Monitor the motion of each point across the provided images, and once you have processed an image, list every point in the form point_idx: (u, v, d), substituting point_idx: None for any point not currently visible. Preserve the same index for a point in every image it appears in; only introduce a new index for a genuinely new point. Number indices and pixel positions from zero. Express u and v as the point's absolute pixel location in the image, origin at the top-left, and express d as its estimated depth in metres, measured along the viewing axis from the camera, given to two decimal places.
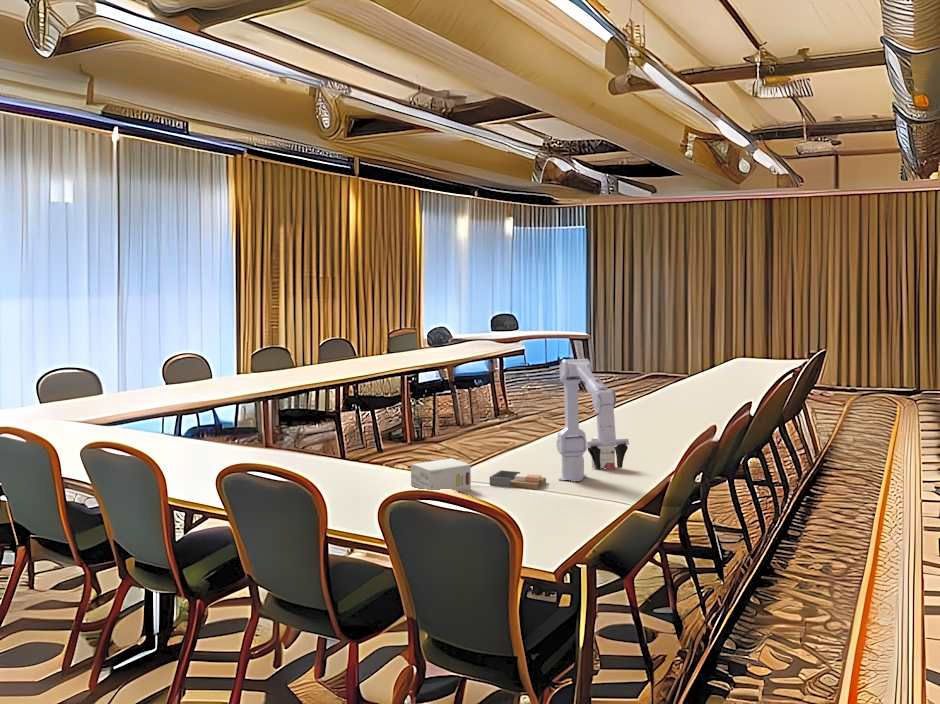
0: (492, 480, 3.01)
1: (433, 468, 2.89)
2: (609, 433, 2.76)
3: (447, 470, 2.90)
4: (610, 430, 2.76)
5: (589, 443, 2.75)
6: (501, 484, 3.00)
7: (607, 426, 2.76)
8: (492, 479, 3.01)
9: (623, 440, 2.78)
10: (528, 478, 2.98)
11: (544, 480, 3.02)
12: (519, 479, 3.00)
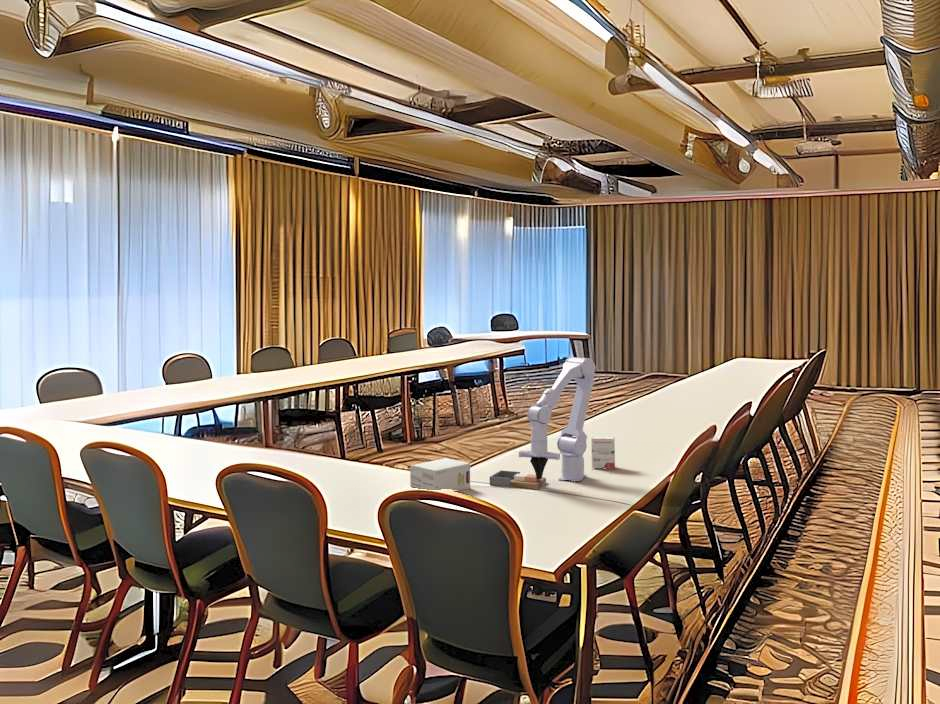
0: (492, 480, 3.01)
1: (436, 468, 2.89)
2: (536, 447, 2.95)
3: (450, 469, 2.90)
4: (536, 445, 2.95)
5: (520, 453, 3.00)
6: (501, 484, 3.00)
7: (534, 441, 2.95)
8: (492, 479, 3.01)
9: (552, 455, 2.94)
10: (526, 478, 2.98)
11: (544, 480, 3.02)
12: (518, 479, 3.00)
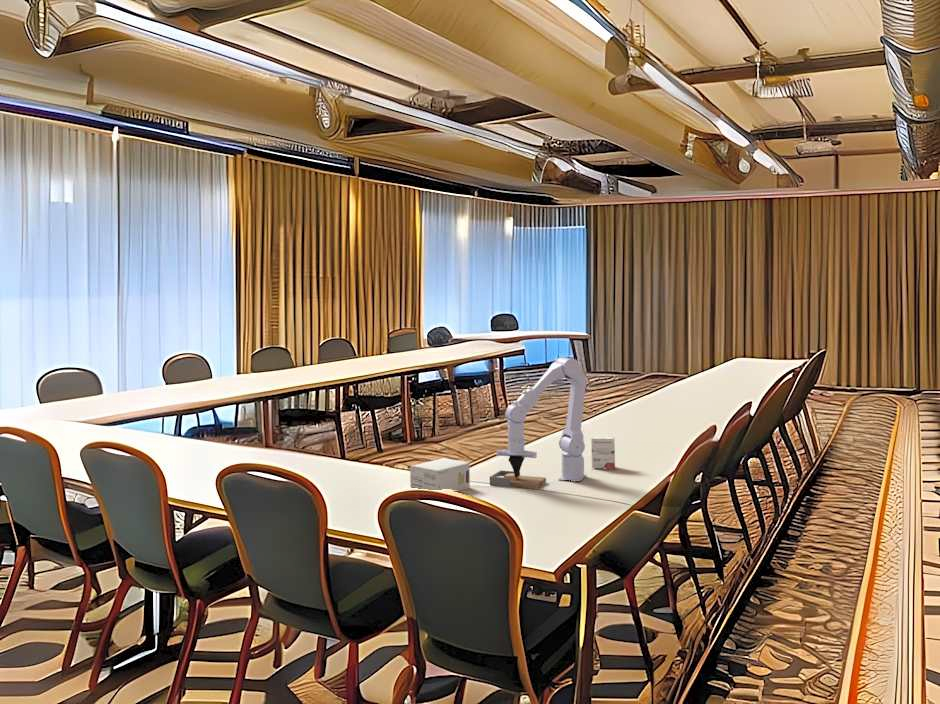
0: (492, 480, 3.01)
1: (438, 468, 2.88)
2: (513, 446, 2.98)
3: (451, 469, 2.91)
4: (513, 443, 2.98)
5: (497, 452, 3.03)
6: (501, 484, 3.00)
7: (511, 439, 2.99)
8: (492, 479, 3.01)
9: (528, 453, 2.98)
10: (505, 477, 3.02)
11: (544, 480, 3.02)
12: None
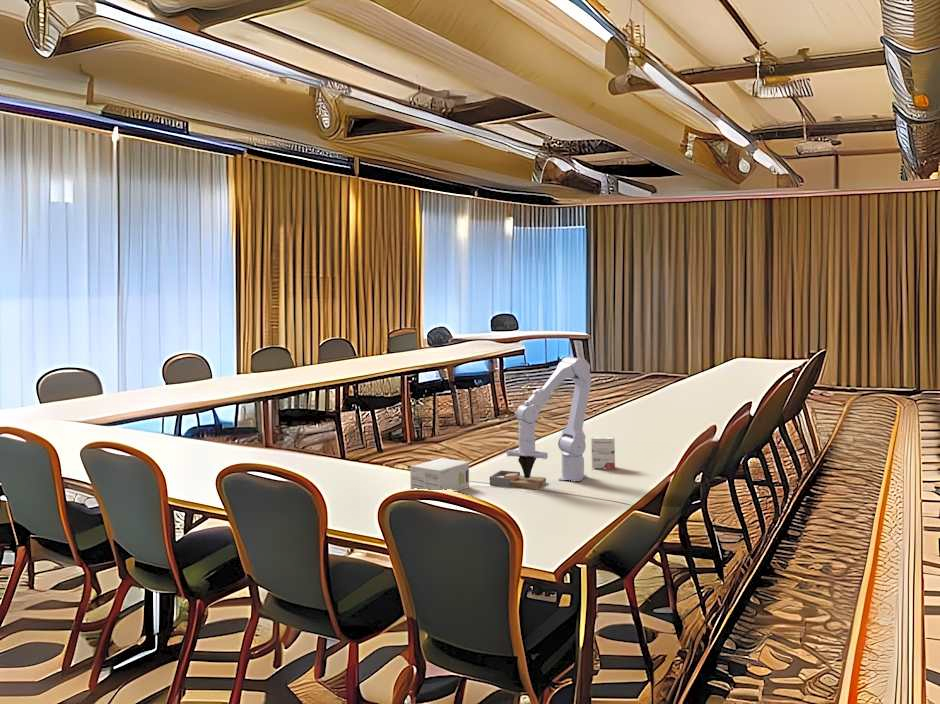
0: (492, 480, 3.01)
1: (440, 468, 2.89)
2: (523, 446, 2.97)
3: (452, 469, 2.91)
4: (524, 444, 2.97)
5: (508, 452, 3.01)
6: (501, 484, 3.00)
7: (522, 440, 2.97)
8: (492, 479, 3.01)
9: (539, 454, 2.96)
10: (505, 477, 3.02)
11: (544, 480, 3.02)
12: None
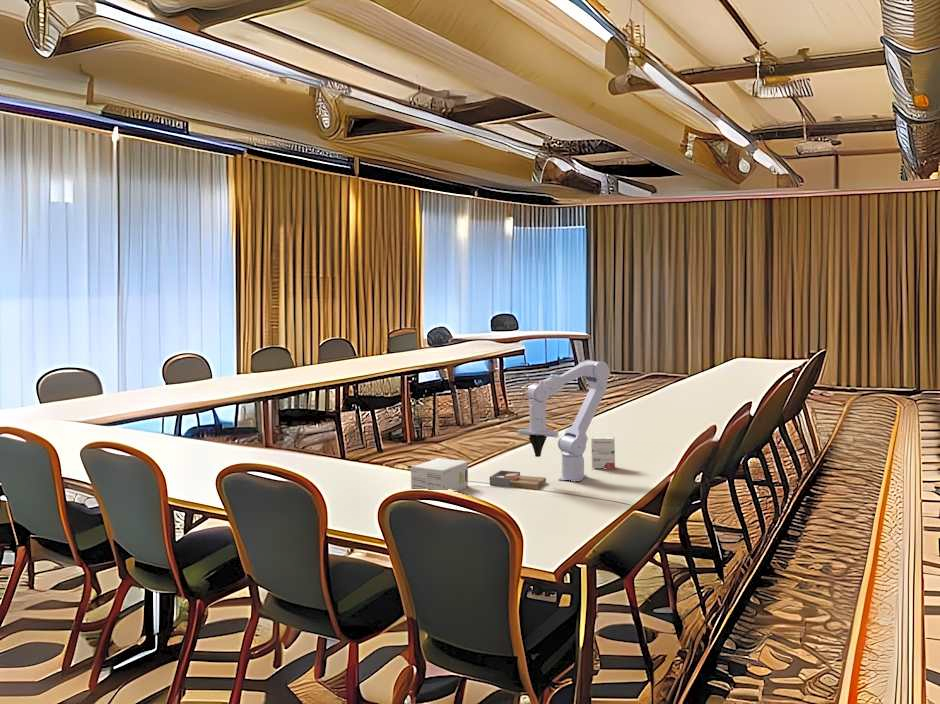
0: (492, 480, 3.01)
1: (442, 468, 2.89)
2: (534, 425, 2.98)
3: (453, 468, 2.92)
4: (535, 422, 2.98)
5: (519, 431, 3.02)
6: (501, 484, 3.00)
7: (533, 418, 2.98)
8: (492, 479, 3.01)
9: (550, 433, 2.97)
10: (505, 477, 3.02)
11: (544, 480, 3.02)
12: None
